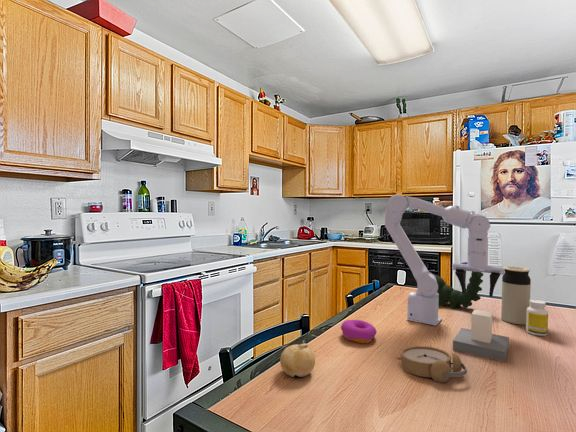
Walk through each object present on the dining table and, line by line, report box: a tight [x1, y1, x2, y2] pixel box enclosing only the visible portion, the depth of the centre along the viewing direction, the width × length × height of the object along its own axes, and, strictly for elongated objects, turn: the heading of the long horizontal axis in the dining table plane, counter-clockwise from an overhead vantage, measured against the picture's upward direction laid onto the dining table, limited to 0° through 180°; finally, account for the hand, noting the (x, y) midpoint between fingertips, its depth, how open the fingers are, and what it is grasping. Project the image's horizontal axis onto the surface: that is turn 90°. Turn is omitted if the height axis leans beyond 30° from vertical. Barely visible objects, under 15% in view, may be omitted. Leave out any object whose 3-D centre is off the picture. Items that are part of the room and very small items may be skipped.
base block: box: [452, 327, 510, 363], centre depth 94 cm, size 12×12×2 cm
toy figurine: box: [432, 261, 485, 309], centre depth 135 cm, size 9×19×25 cm
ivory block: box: [470, 309, 494, 343], centre depth 94 cm, size 4×4×7 cm
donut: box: [340, 319, 377, 344], centre depth 101 cm, size 10×10×5 cm
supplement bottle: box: [525, 299, 549, 337], centre depth 105 cm, size 5×5×10 cm
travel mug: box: [500, 265, 532, 326], centre depth 116 cm, size 8×8×18 cm
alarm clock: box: [396, 345, 467, 383], centre depth 81 cm, size 11×5×15 cm
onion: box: [279, 339, 316, 378], centre depth 79 cm, size 8×8×7 cm
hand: (477, 294), depth 111 cm, fingers open, 7 cm apart
